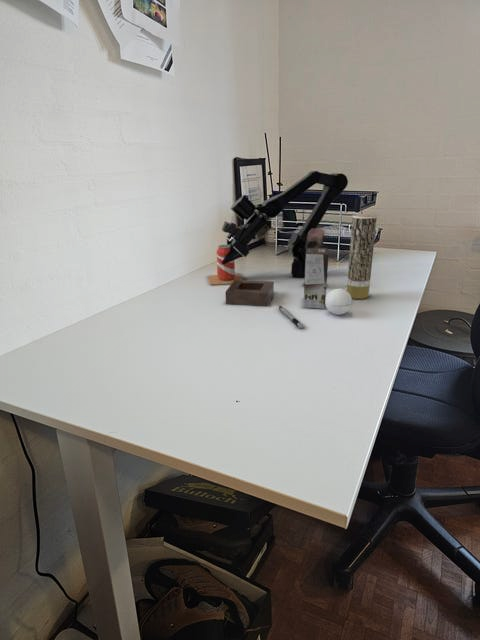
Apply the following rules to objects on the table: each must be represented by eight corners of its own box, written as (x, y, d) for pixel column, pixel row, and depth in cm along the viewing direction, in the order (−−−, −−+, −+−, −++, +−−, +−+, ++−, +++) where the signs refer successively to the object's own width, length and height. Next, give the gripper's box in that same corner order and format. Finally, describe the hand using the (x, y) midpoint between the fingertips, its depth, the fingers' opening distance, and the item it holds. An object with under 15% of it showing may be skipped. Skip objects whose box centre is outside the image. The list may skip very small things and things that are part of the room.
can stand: (273, 293, 131) (273, 281, 130) (268, 306, 119) (268, 293, 118) (235, 291, 134) (234, 279, 132) (225, 304, 122) (225, 291, 121)
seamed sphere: (324, 318, 109) (326, 292, 107) (323, 309, 116) (325, 284, 114) (362, 319, 108) (365, 293, 105) (359, 310, 115) (361, 285, 112)
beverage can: (236, 280, 145) (235, 247, 141) (218, 281, 144) (217, 248, 140) (233, 276, 151) (232, 244, 146) (216, 277, 150) (215, 245, 145)
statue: (325, 284, 139) (329, 226, 132) (320, 290, 133) (324, 229, 126) (306, 282, 142) (309, 225, 135) (300, 288, 136) (303, 228, 129)
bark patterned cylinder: (368, 294, 128) (377, 214, 119) (367, 300, 122) (376, 217, 113) (347, 292, 131) (353, 213, 121) (345, 298, 125) (351, 216, 115)
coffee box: (325, 309, 116) (328, 254, 110) (302, 308, 117) (305, 253, 111) (325, 299, 124) (328, 247, 119) (304, 298, 126) (306, 247, 120)
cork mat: (239, 274, 154) (239, 273, 154) (244, 283, 143) (244, 282, 143) (208, 276, 152) (208, 275, 152) (210, 285, 141) (210, 284, 141)
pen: (282, 309, 117) (282, 305, 116) (305, 330, 102) (305, 325, 101) (278, 309, 116) (278, 305, 116) (300, 330, 102) (300, 325, 101)
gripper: (231, 210, 148) (203, 241, 151) (238, 216, 131) (206, 251, 133) (252, 231, 152) (224, 261, 154) (262, 239, 135) (230, 273, 137)
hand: (221, 261), depth 145 cm, fingers open, 6 cm apart
